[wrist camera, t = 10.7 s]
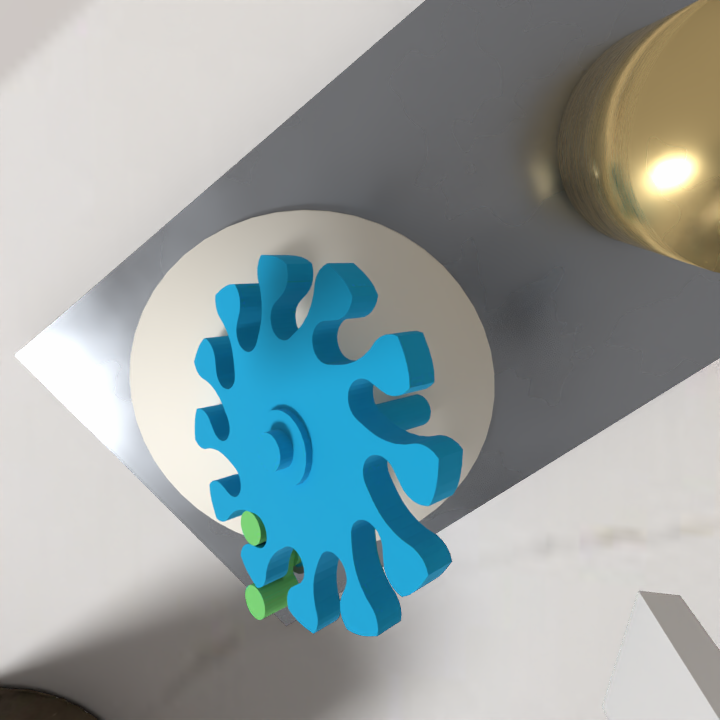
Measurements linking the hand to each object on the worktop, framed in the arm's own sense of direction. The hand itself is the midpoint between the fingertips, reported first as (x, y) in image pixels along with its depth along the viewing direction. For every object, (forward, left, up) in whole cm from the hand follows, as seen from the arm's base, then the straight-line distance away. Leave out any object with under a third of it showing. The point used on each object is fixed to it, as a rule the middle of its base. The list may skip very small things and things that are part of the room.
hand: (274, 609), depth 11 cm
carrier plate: (-4, -5, -11) cm, 12 cm away
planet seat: (0, 0, -9) cm, 9 cm away
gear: (0, 0, -9) cm, 9 cm away
